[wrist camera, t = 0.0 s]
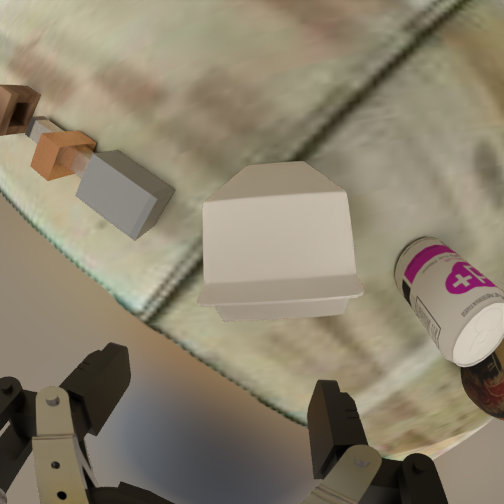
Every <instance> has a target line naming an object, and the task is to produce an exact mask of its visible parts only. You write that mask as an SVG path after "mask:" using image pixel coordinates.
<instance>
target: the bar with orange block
mask: <svg viewBox="0 0 504 504" xmlns="http://www.w3.org/2000/svg"><path fill="white" fill-rule="evenodd" d="M25 135H27V136H28V137H30V138H31V139H32V140H34V141H35V142H36V143H37V144H38V145H37V147H36V150H35V153H34V156H33V159H32V163H31V167H32V168H33V169H34V170H35V171H37V172H38V173H39V174H40V175H41V176H42V177H44V178H45V179H46V180H47V181H50V180H53V179H57V178H60V177H64V176H68V175H71V174H77V175H78V176H79V177H80V178H83V175H84V173H85V170H86V168H87V166H88V163H89V161H90V159H91V157H92V155H93V153H94V152H93V150H94V148H95V146H96V144H97V143H96V142H95V141H93V140H92V139H90V138H89V137H87V136H86V135H84V134H83V133H82V132H80V131H63V130H62V129H60V128H59V127H57V126H56V125H55V124H53V123H52V122H50V121H49V120H48V119H47V118H46V117H44V116H39V117H31V120H30V123H29V125H28V128H27V131H26V134H25Z"/></svg>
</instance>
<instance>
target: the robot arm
mask: <svg viewBox="0 0 504 504" xmlns="http://www.w3.org/2000/svg"><path fill="white" fill-rule="evenodd" d="M130 378H131V372H130V364H129V354H128V349H127V347H126V346H122V345H119V344H115V343H111V342H110V343H109V344H108V345H107V346H106V347H105V348H104V349H103V350H102V351H100V350H97V351H95V352H93V353H91V354H89V355H88V356H87V357H86V358H85V359H84V360H83V361H82V363H80V364H79V365H78V366H77V368H76V369H75V370H74V371H73V372H72V373H71V374H70V375H69V376H68V377H67V378H66V379H65V380H64V381H63V382H62V384H61V385H60V386H59V387H56V386H49V387H45V388H43V389H42V390H40V391H39V392H38V393H37V392H32V391H28V390H23V389H22V386H21V384H20V382H19V381H18V380H17V379H16V378H14V377H3V378H0V430H1V429H2V428H3V427H4V425H5V424H6V423H7V422H8V421H9V422H10V425H9V426H8V428H7V429H6V430H5V432H4V433H3V434H2V435H1V437H0V504H7V497H6V492H7V490H8V489H9V487H10V485H11V483H12V482H13V480H14V479H15V477H16V475H17V474H18V472H19V470H20V469H21V467H22V466H23V464H24V462H25V461H26V459H27V457H28V456H29V455H30V453H31V452H32V450H33V458H34V467H35V474H36V481H37V487H38V493H39V498H40V503H41V504H174V503H172V502H170V501H168V500H166V499H164V498H162V497H160V496H158V495H156V494H154V493H152V492H150V491H148V490H145V489H142V488H139V487H136V486H133V485H130V484H127V483H124V482H120V484H119V486H118V488H117V487H99V484H98V482H97V480H96V478H95V475H94V472H93V468H92V465H91V461H90V458H89V454H88V450H87V446H86V442H85V439H84V437H85V435H86V434H87V433H90V434H92V435H94V436H97V435H98V433H99V432H100V430H101V428H102V427H103V425H104V424H105V422H106V421H107V419H108V417H109V416H110V414H111V413H112V411H113V410H114V408H115V406H116V405H117V403H118V402H119V400H120V399H121V397H122V396H123V394H124V392H125V391H126V389H127V388H128V386H129V383H130ZM307 421H308V429H309V437H310V447H311V455H312V465H313V474H314V479H323V481H322V482H321V483H320V484H319V486H318V487H316V488H315V489H314V490H313V491H312V492H311V493H310V494H309V495H308V496H307V497H306V499H305V500H304V501H303V502H302V503H301V504H448V501H447V498H446V495H445V492H444V489H443V486H442V484H441V481H440V478H439V475H438V472H437V470H436V467H435V464H434V462H433V461H432V459H431V458H429V457H428V456H426V455H424V454H420V453H414V454H410V455H408V456H407V457H406V458H405V459H404V460H403V461H397V460H390V459H385V458H382V457H381V456H380V454H379V452H378V451H377V450H375V449H374V448H372V447H370V446H369V445H368V442H367V439H366V436H365V433H364V429H363V426H362V423H361V420H360V419H359V414H358V412H357V407H356V404H355V401H354V400H353V399H352V398H351V397H350V395H349V394H348V393H342V392H340V389H339V386H338V383H337V381H335V380H318V381H317V383H316V386H315V389H314V392H313V395H312V398H311V401H310V404H309V407H308V412H307Z"/></svg>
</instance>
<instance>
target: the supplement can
mask: <svg viewBox="0 0 504 504" xmlns="http://www.w3.org/2000/svg"><path fill="white" fill-rule="evenodd" d="M395 280H396V284H397V287H398V289H399V290H400V291H401V293H402V294H403V296H404V297H405V299H406V300H407V301H408V303H409V304H410V306H411V307H412V309H413V310H414V312H415V313H416V315H417V316H418V318H419V319H420V321H421V322H422V324H423V325H424V327H425V328H426V330H427V331H428V333H429V334H430V336H431V338H432V339H433V341H434V342H435V344H436V346H437V347H438V349H439V350H440V352H441V354H442V355H443V356H444V357H445V359H446V360H448V361H451V362H454V363H456V364H457V365H458V366H461V367H468V366H473V365H475V364H477V363H479V362H481V361H482V360H484V359H485V358H486V357H488V356H489V355H490V354H491V353H492V352H493V351H494V350H495V349H496V348H497V346H498V345H499V344H500V342H501V341H502V339H503V338H504V293H503V292H502V291H501V290H500V289H499V288H498V287H496V286H495V285H494V284H493V283H492V282H491V281H490V280H488V279H487V278H486V277H485V276H484V275H483V274H481V273H480V272H479V271H478V270H477V269H475V268H474V267H473V266H472V265H470V264H469V263H468V262H467V261H466V260H464V259H463V258H462V257H460V256H459V255H458V254H457V253H455V252H454V251H453V250H451V249H450V248H449V247H447V246H446V245H445V244H443V243H442V242H440V241H439V240H437V239H436V238H427V237H426V238H423V239H420V240H416V241H415V242H414V243H412V244H411V245H410V246H408V247H407V248H406V250H405V251H404V252H403V253H402V255H401V256H400V258H399V261H398V263H397V266H396V271H395Z"/></svg>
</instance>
